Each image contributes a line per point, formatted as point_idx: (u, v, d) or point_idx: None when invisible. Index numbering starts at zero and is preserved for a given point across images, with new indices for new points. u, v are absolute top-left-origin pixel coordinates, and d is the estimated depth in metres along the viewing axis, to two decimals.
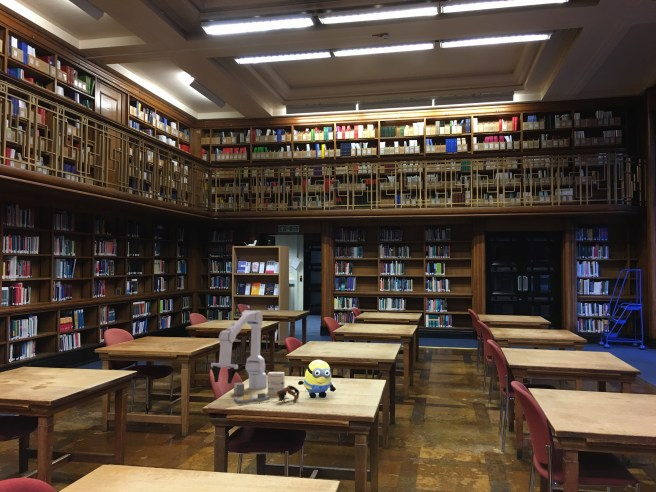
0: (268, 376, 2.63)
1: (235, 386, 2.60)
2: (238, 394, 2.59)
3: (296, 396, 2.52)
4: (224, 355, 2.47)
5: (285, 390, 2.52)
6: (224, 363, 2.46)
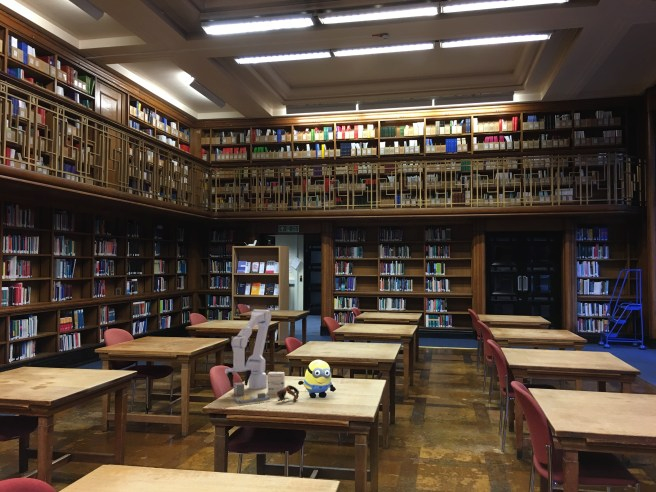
0: (268, 376, 2.63)
1: (235, 386, 2.60)
2: (238, 394, 2.59)
3: (296, 396, 2.52)
4: (242, 360, 2.60)
5: (285, 390, 2.52)
6: (243, 368, 2.60)
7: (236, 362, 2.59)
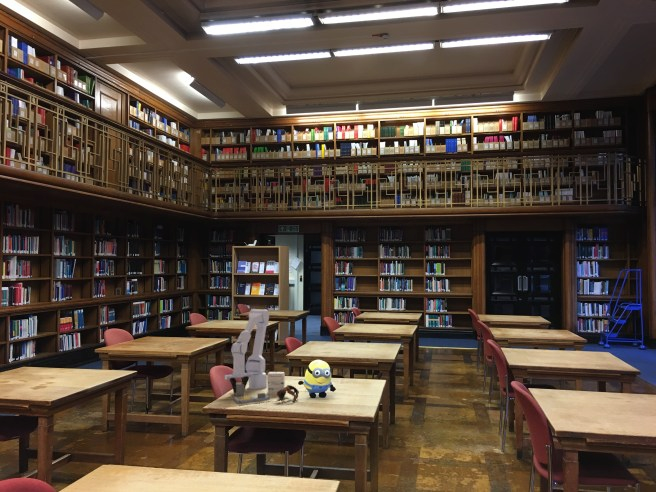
0: (268, 376, 2.63)
1: None
2: (238, 394, 2.59)
3: (295, 396, 2.52)
4: (242, 366, 2.60)
5: (284, 390, 2.53)
6: (243, 374, 2.60)
7: (236, 368, 2.59)
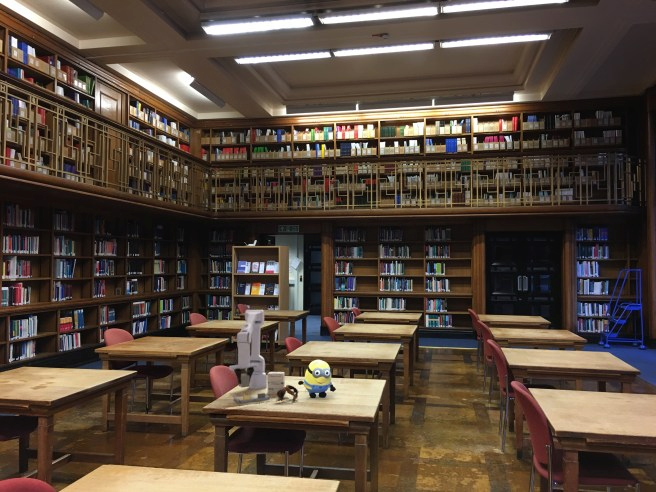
0: (268, 376, 2.63)
1: None
2: (243, 386, 2.48)
3: (295, 395, 2.53)
4: (247, 357, 2.50)
5: (284, 390, 2.53)
6: (248, 364, 2.50)
7: (241, 358, 2.49)
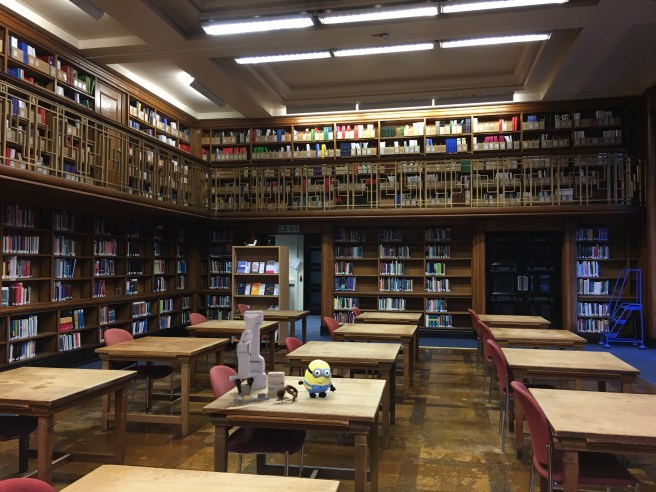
0: (268, 376, 2.63)
1: None
2: None
3: (295, 395, 2.53)
4: (247, 367, 2.49)
5: (284, 389, 2.53)
6: (248, 375, 2.50)
7: (241, 369, 2.49)
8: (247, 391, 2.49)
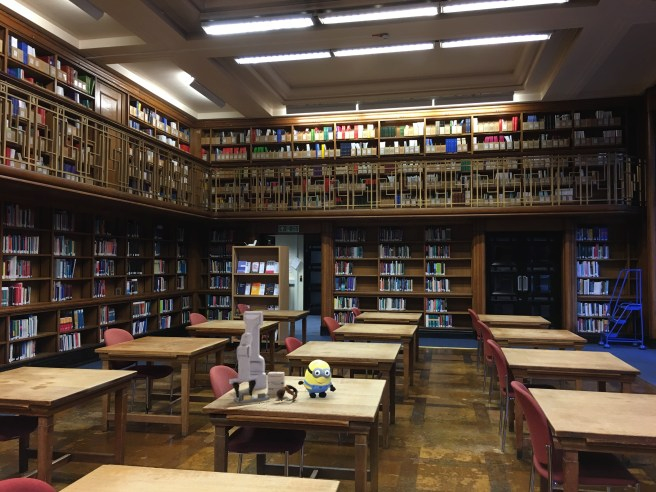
0: (268, 376, 2.63)
1: (240, 394, 2.50)
2: None
3: (295, 395, 2.53)
4: (247, 370, 2.49)
5: (284, 389, 2.53)
6: (248, 378, 2.49)
7: (241, 372, 2.48)
8: None
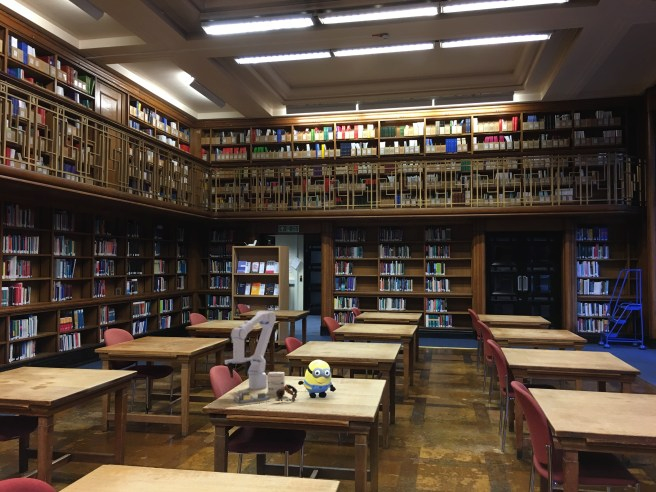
0: (268, 376, 2.63)
1: (240, 394, 2.50)
2: None
3: (294, 395, 2.54)
4: (242, 351, 2.62)
5: (283, 389, 2.54)
6: (243, 359, 2.62)
7: (236, 353, 2.61)
8: None
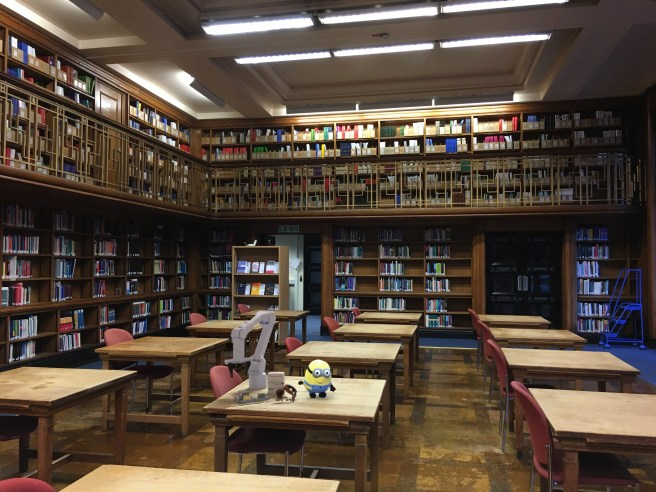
0: (268, 376, 2.63)
1: (240, 394, 2.50)
2: None
3: (294, 395, 2.54)
4: (242, 351, 2.62)
5: (283, 389, 2.54)
6: (243, 359, 2.62)
7: (236, 353, 2.62)
8: None
